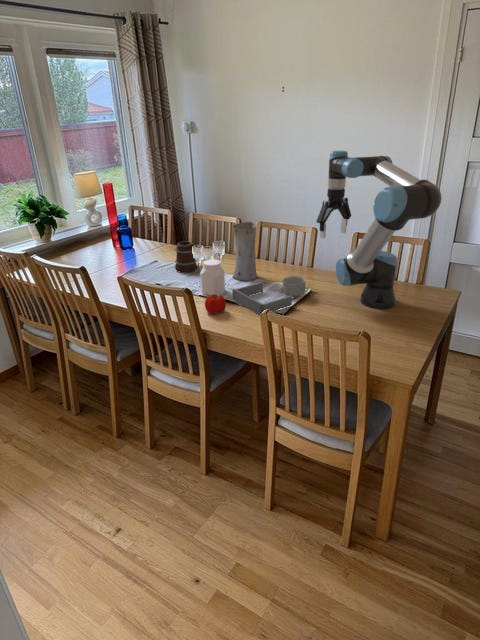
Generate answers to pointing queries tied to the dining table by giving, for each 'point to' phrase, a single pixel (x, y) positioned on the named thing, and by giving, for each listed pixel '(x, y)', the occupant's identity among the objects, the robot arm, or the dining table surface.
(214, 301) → the tomato
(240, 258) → the vase
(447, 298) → the dining table surface
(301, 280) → the teacup
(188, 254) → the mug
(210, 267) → the jar
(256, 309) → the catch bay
